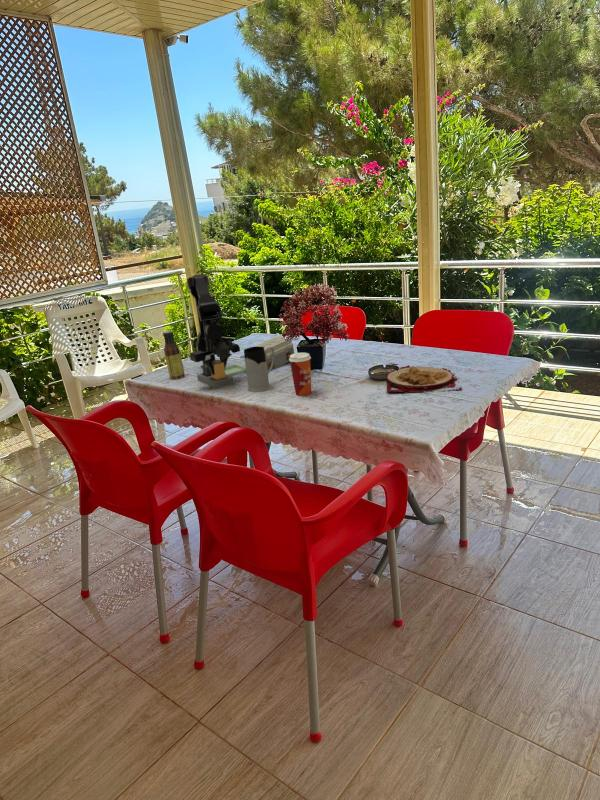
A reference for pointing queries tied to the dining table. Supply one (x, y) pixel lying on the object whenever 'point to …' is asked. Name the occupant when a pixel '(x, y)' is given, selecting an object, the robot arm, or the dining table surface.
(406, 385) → the plate with food
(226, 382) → the power strip
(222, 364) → the plug
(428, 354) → the dining table surface
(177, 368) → the sauce bottle
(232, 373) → the tray
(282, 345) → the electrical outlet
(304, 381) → the paper cup
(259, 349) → the grey pitcher
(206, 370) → the twin plug
